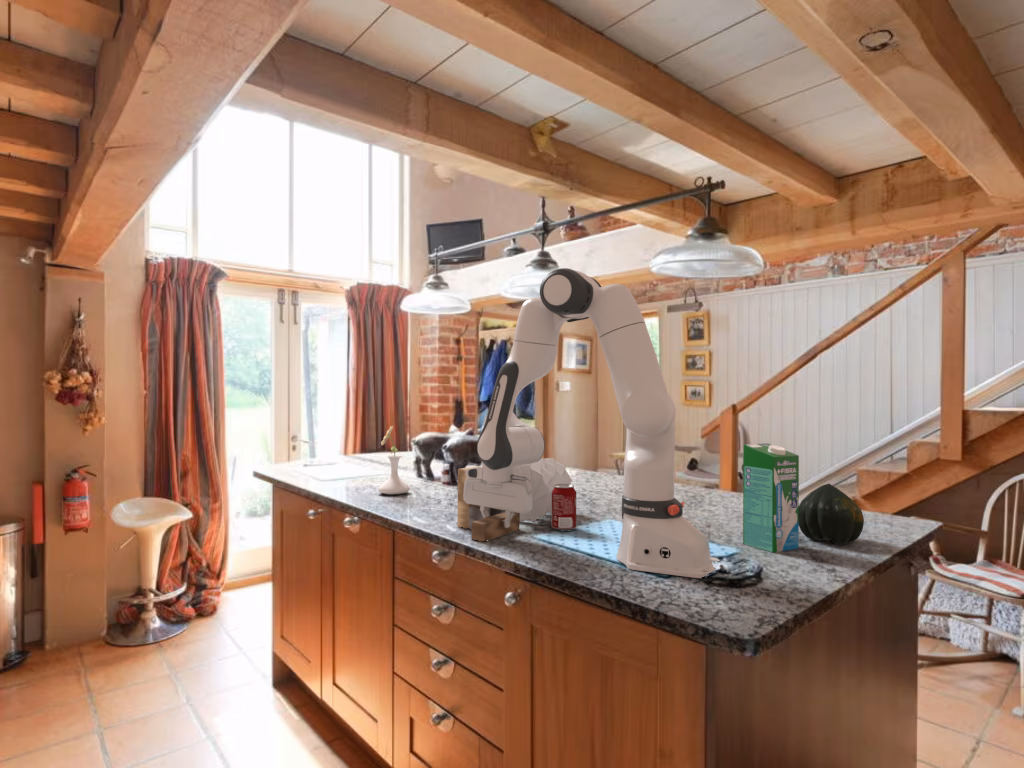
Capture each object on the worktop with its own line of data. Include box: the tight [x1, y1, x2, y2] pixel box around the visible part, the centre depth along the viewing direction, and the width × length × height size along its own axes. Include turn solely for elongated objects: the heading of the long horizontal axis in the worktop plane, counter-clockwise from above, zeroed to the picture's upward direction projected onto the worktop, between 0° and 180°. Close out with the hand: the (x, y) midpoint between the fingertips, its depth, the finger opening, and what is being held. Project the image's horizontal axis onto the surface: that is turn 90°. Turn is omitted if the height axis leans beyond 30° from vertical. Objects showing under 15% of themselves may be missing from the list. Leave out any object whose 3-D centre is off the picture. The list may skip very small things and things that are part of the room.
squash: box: [799, 483, 865, 546], centre depth 151 cm, size 14×15×15 cm
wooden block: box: [471, 512, 521, 542], centre depth 154 cm, size 16×4×6 cm, turn 146°
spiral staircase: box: [515, 457, 573, 523], centre depth 177 cm, size 18×18×25 cm
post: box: [456, 465, 505, 530], centre depth 163 cm, size 10×9×16 cm
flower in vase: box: [377, 425, 411, 496], centre depth 212 cm, size 13×11×25 cm
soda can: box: [551, 484, 577, 532], centre depth 161 cm, size 7×7×12 cm
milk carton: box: [742, 442, 800, 554], centre depth 144 cm, size 9×9×25 cm
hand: (496, 525), depth 154 cm, fingers open, 4 cm apart
